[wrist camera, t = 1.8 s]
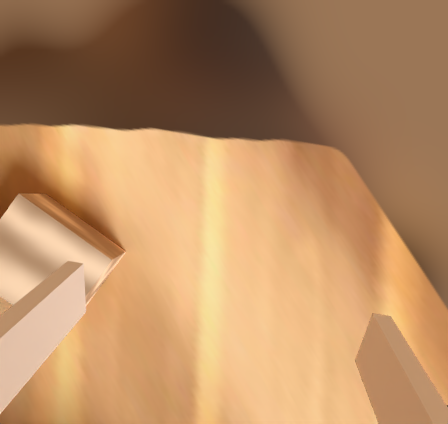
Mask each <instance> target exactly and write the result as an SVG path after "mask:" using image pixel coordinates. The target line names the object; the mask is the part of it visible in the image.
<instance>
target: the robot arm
mask: <svg viewBox="0 0 448 424" xmlns="http://www.w3.org/2000/svg"><path fill="white" fill-rule="evenodd" d="M85 313H86V300H85V280H84V264H83V263H78V262H72V261H67V262H66V263H65V264H63V265H62V266H61V267H60V268H58V269H57V270H56V271H55V272H53V273H52V274H51V275H50V276H48V277H47V278H46V279H45V280H44V281H42V282H41V283H40V284H39V285H37V286H36V287H35V288H34V289H32V290H31V291H30V292H29V293H27V294H26V295H25V296H24V297H23V298H21V299H20V300H19V301H18V302H16V303H15V304H14V305H13V306H11V307H10V308H9V309H8V310H6V311H5V312H4V313H3V314H2V315H0V414H1V413H2V411H3V410H4V409H5V408H6V407H7V405H8V404H9V403H10V402H11V401H12V400H13V398H14V397H15V396H16V395H17V394H18V392H19V391H20V390H21V389H22V388H23V386H24V385H25V384H26V383H27V382H28V380H29V379H30V378H31V377H32V376H33V375H34V373H35V372H36V371H37V370H38V369H39V367H40V366H41V365H42V364H43V363H44V361H45V360H46V359H47V358H48V357H49V355H50V354H51V353H52V352H53V351H54V350H55V348H56V347H57V346H58V345H59V344H60V342H61V341H62V340H63V339H64V338H65V336H66V335H67V334H68V333H69V332H70V330H71V329H72V328H73V327H74V326H75V324H76V323H77V322H78V321H79V320H80V319H81V317H82V316H83V315H84V314H85ZM355 362H356V365H357V368H358V370H359V373H360V376H361V378H362V381H363V384H364V386H365V389H366V392H367V394H368V397H369V400H370V402H371V405H372V408H373V410H374V413H375V415H376V418H377V421H378V423H379V424H448V405H446V404H445V402H444V401H443V399H442V397H441V396H440V394H439V393H438V391H437V390H436V388H435V386H434V385H433V383H432V382H431V380H430V378H429V377H428V375H427V374H426V372H425V370H424V369H423V367H422V366H421V364H420V362H419V361H418V359H417V358H416V356H415V354H414V353H413V351H412V350H411V348H410V346H409V345H408V343H407V342H406V340H405V338H404V337H403V335H402V334H401V332H400V330H399V329H398V327H397V326H396V324H395V322H394V321H393V319H392V318H391V316H386V315H380V314H374V313H373V314H372V316H371V319H370V322H369V324H368V327H367V330H366V332H365V335H364V338H363V341H362V343H361V346H360V349H359V351H358V354H357V357H356V359H355Z"/></svg>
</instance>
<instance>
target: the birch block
mask: <svg viewBox="0 0 448 424" xmlns="http://www.w3.org/2000/svg"><path fill="white" fill-rule="evenodd" d="M125 252H126V251H125V250H123V249H122V248H121V247H119V246H118V245H116V244H115V243H114V242H112V241H111V240H109V239H108V238H107V237H105V236H104V235H102V234H101V233H100V232H98V231H97V230H96V229H94V228H93V227H91V226H90V225H89V224H87V223H86V222H84V221H83V220H82V219H80V218H79V217H77V216H76V215H75V214H73V213H72V212H70V211H69V210H68V209H66V208H65V207H63V206H62V205H61V204H59V203H58V202H57V201H55V200H54V199H52V198H51V197H50V196H48V195H47V194H26V193H19V194H18V195H17V196H16V198H15V199H14V201H13V202H12V203H11V205H10V206H9V208H8V209H7V210H6V212H5V213H4V215H3V216H2V217H1V219H0V297H2V298H3V299H5V300H6V301H7V302H9V303H10V304H12V305H14V304H15V303H16V302H18V301H19V300H20V299H21V298H23V297H24V296H25V295H26V294H27V293H29V292H30V291H31V290H32V289H34V288H35V287H36V286H37V285H39V284H40V283H41V282H42V281H44V280H45V279H46V278H47V277H48V276H50V275H51V274H52V273H53V272H55V271H56V270H57V269H58V268H60V267H61V266H62V265H63V264H65V263H66V262H67V261H72V262H78V263H83V264H84V280H85V300H86V306H87V304H88V303H89V302H90V300H91V299H92V297H93V296H94V295H95V293H96V292H97V291H98V289H99V288H100V287H101V285H102V284H103V282H104V281H105V280H106V278H107V277H108V276H109V274H110V273H111V272H112V270H113V269H114V267H115V266H116V265H117V263H118V262H119V261H120V259H121V258H122V257H123V255H124V254H125Z"/></svg>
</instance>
